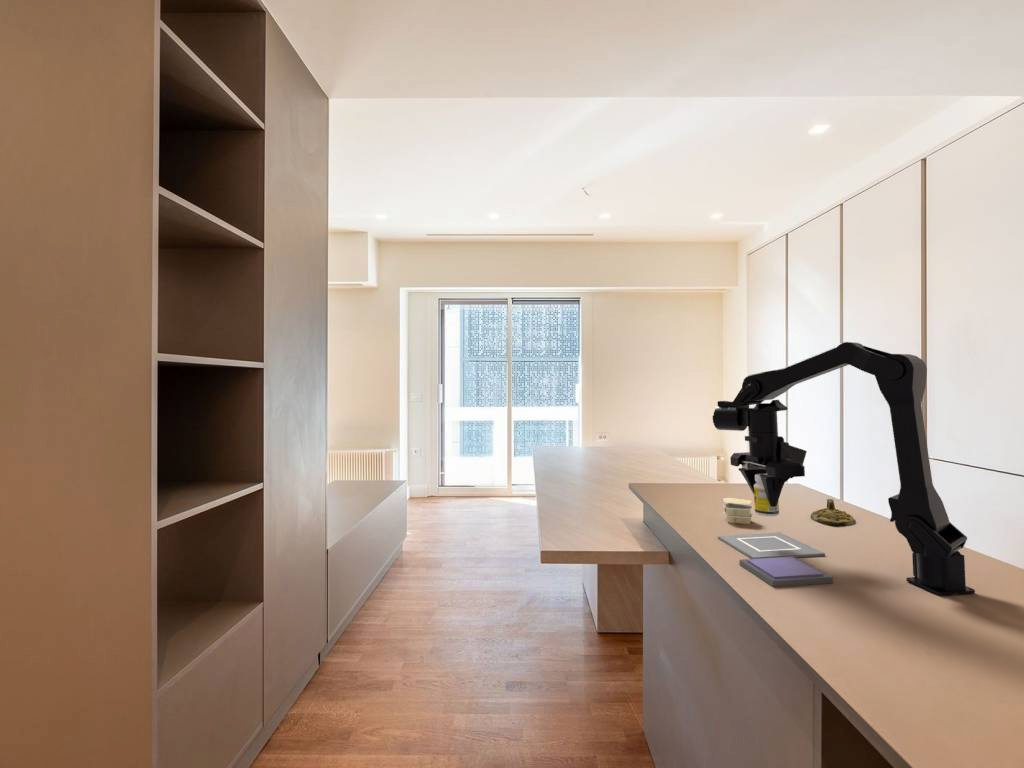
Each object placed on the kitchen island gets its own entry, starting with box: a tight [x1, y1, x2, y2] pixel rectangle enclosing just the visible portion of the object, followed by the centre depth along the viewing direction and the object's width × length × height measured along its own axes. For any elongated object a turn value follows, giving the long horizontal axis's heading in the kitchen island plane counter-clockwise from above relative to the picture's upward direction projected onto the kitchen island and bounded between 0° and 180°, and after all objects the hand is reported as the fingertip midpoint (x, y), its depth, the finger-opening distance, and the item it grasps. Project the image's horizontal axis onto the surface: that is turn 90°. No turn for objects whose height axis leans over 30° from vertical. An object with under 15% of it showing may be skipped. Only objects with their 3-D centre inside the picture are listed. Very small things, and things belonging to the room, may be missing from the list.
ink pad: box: [738, 556, 834, 588], centre depth 92 cm, size 11×11×1 cm
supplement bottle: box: [753, 474, 780, 517], centre depth 108 cm, size 5×5×8 cm
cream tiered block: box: [722, 497, 753, 525], centre depth 128 cm, size 10×9×6 cm
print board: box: [717, 531, 826, 559], centre depth 108 cm, size 15×15×1 cm
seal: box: [810, 498, 855, 527], centre depth 127 cm, size 9×5×15 cm
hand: (766, 503), depth 108 cm, fingers closed on supplement bottle, 5 cm apart
